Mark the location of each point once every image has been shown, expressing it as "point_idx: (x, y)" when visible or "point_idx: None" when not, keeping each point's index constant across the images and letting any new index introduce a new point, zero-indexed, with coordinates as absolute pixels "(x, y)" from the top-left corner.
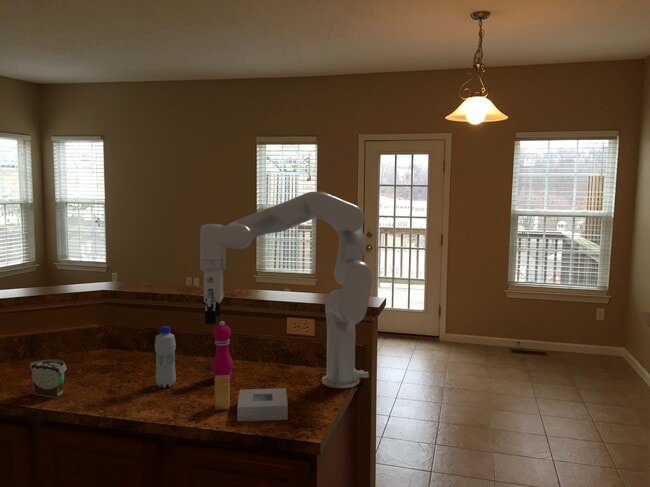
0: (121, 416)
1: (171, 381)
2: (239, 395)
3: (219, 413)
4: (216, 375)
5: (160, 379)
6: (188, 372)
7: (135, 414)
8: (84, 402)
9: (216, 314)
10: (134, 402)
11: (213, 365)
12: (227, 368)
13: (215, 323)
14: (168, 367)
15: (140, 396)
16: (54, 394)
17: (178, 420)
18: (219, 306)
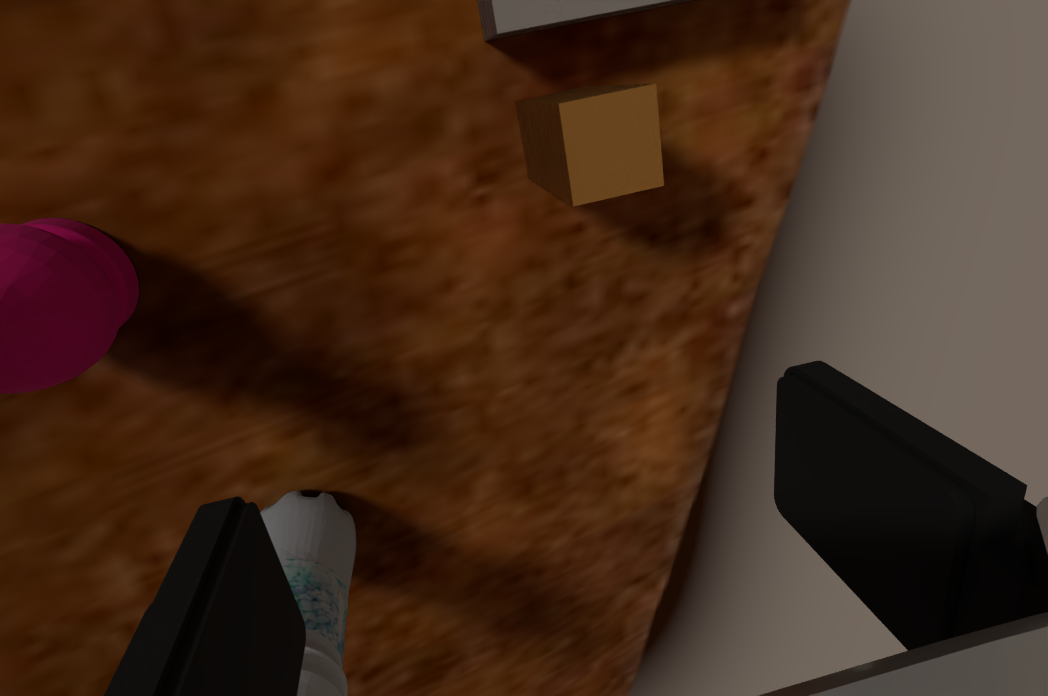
0: (675, 511)
1: (328, 505)
2: (603, 9)
3: None
4: (574, 201)
5: (354, 555)
6: (52, 509)
7: (657, 476)
8: (553, 682)
9: (263, 566)
10: (537, 539)
11: (95, 360)
12: (75, 249)
13: (815, 362)
14: (331, 571)
15: (469, 551)
16: None
17: (718, 291)
18: (157, 676)
